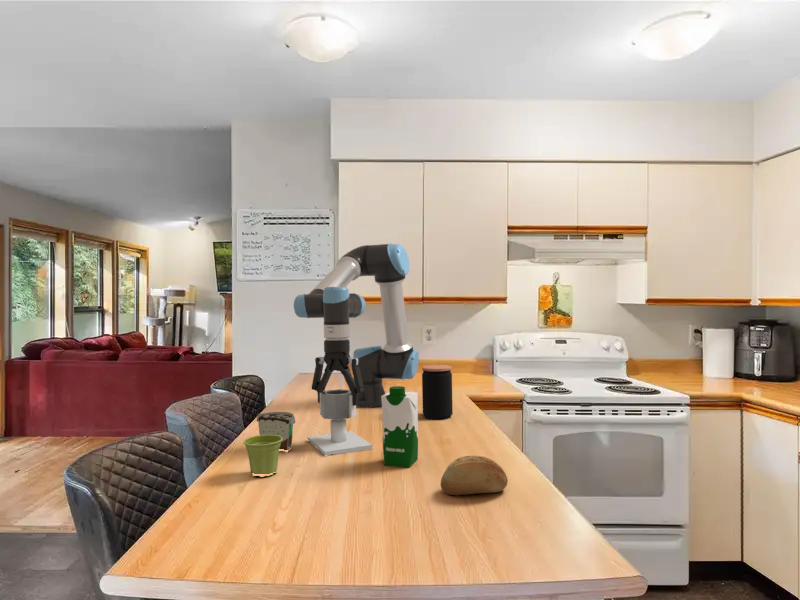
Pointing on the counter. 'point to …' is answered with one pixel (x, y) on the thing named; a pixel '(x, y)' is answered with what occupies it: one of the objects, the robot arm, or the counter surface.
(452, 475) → the bread roll
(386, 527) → the counter surface
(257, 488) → the counter surface
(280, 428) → the food container
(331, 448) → the panel
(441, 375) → the coffee jar
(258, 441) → the plant pot
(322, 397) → the collar
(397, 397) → the milk carton
